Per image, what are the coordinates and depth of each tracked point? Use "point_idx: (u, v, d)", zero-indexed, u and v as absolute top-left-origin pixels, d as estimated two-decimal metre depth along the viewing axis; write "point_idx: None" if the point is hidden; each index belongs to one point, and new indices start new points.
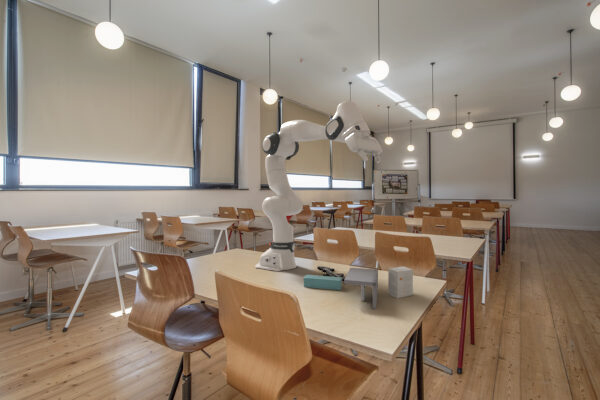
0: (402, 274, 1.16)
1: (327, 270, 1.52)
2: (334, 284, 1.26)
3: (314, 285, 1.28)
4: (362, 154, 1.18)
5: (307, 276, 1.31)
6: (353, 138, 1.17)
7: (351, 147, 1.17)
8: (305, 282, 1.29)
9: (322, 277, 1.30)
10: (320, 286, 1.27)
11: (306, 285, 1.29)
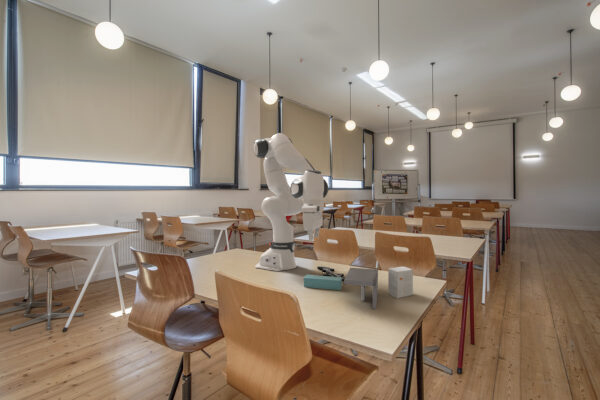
0: (402, 274, 1.16)
1: (327, 270, 1.52)
2: (334, 284, 1.26)
3: (314, 285, 1.28)
4: (311, 234, 1.24)
5: (307, 276, 1.31)
6: (311, 221, 1.20)
7: (306, 228, 1.21)
8: (305, 282, 1.29)
9: (322, 277, 1.30)
10: (320, 286, 1.27)
11: (306, 285, 1.29)
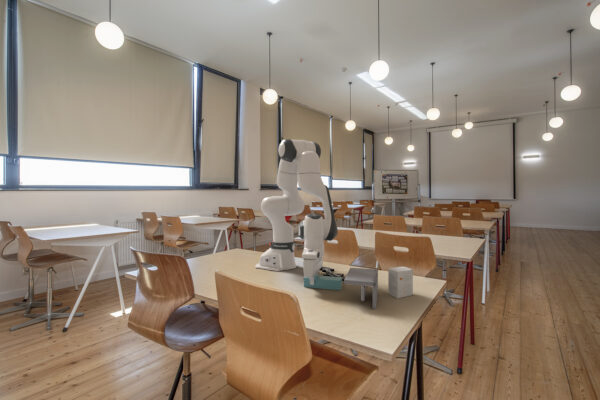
0: (402, 274, 1.16)
1: (327, 270, 1.52)
2: (334, 284, 1.26)
3: (314, 285, 1.28)
4: (312, 279, 1.26)
5: None
6: (312, 268, 1.21)
7: (306, 275, 1.21)
8: (305, 282, 1.29)
9: (322, 277, 1.30)
10: (320, 286, 1.27)
11: (306, 285, 1.29)
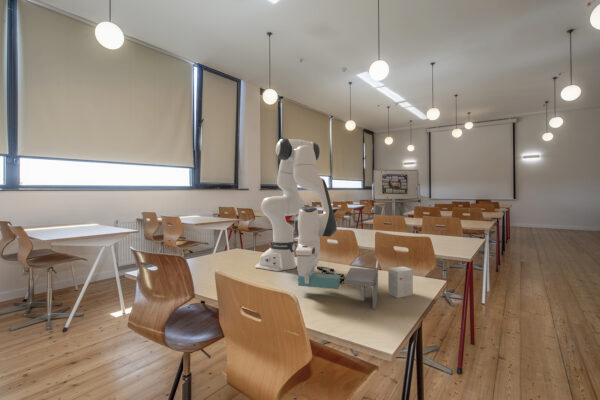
0: (402, 274, 1.16)
1: (327, 270, 1.51)
2: (331, 282, 1.16)
3: (309, 284, 1.18)
4: (307, 277, 1.16)
5: None
6: (306, 265, 1.11)
7: (300, 272, 1.11)
8: (299, 281, 1.19)
9: (318, 275, 1.20)
10: (316, 285, 1.17)
11: (301, 284, 1.19)
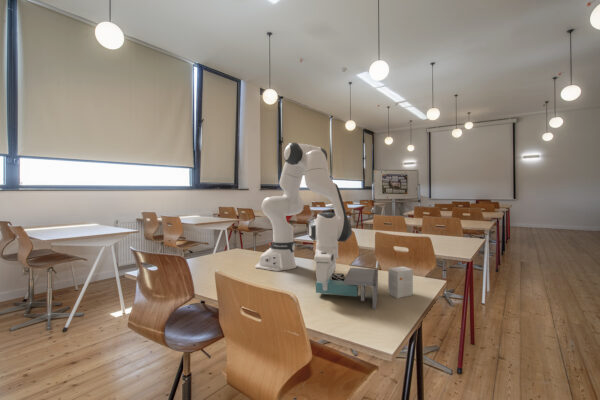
0: (402, 274, 1.16)
1: None
2: (350, 290, 1.14)
3: (327, 291, 1.16)
4: (325, 284, 1.14)
5: None
6: (325, 272, 1.09)
7: (319, 280, 1.09)
8: (317, 287, 1.17)
9: (336, 282, 1.18)
10: (334, 292, 1.15)
11: (319, 291, 1.17)
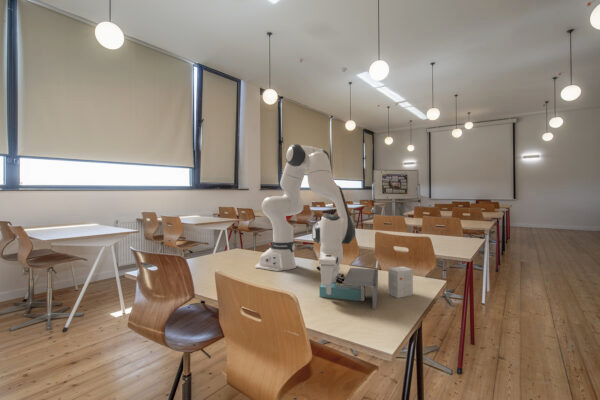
0: (402, 274, 1.16)
1: None
2: (354, 294, 1.13)
3: (331, 295, 1.16)
4: (329, 288, 1.13)
5: (323, 285, 1.19)
6: (330, 275, 1.08)
7: (324, 282, 1.09)
8: (321, 291, 1.17)
9: (340, 286, 1.17)
10: (338, 296, 1.15)
11: (322, 295, 1.17)
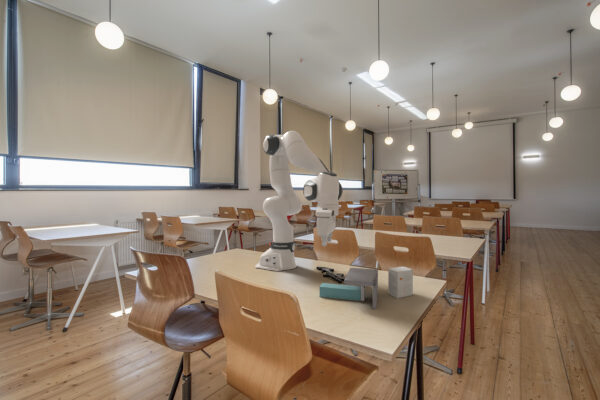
0: (402, 274, 1.16)
1: (327, 270, 1.51)
2: (354, 294, 1.13)
3: (331, 295, 1.16)
4: (324, 240, 1.19)
5: (323, 285, 1.19)
6: (326, 226, 1.14)
7: (319, 233, 1.15)
8: (321, 291, 1.17)
9: (340, 286, 1.17)
10: (338, 296, 1.15)
11: (322, 295, 1.17)
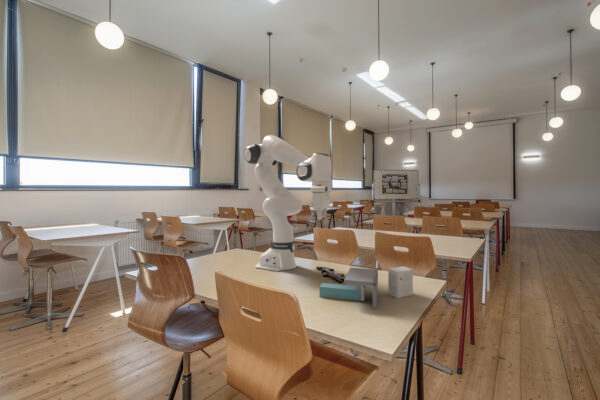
0: (402, 274, 1.16)
1: (327, 270, 1.51)
2: (354, 294, 1.13)
3: (331, 295, 1.16)
4: (319, 214, 1.30)
5: (323, 285, 1.19)
6: (320, 200, 1.26)
7: (315, 206, 1.26)
8: (321, 291, 1.17)
9: (340, 286, 1.17)
10: (338, 296, 1.15)
11: (322, 295, 1.17)
